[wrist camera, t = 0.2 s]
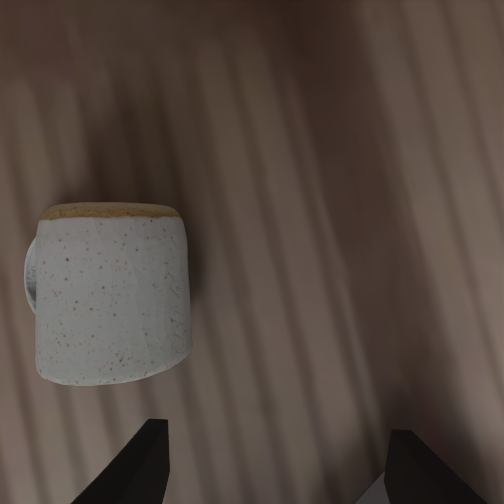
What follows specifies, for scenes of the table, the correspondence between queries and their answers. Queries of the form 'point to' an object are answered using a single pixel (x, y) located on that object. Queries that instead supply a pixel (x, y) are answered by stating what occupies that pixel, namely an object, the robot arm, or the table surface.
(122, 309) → the ceramic mug
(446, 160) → the table surface
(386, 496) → the press housing
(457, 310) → the table surface
